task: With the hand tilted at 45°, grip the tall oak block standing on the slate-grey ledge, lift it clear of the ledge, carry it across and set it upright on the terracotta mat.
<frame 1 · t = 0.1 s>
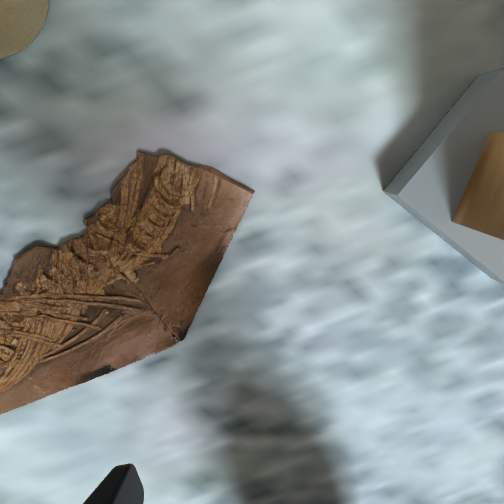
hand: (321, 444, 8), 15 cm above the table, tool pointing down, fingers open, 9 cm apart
wooden fragment: (101, 302, 23), on the table
slate ledge: (485, 185, 21), on the table
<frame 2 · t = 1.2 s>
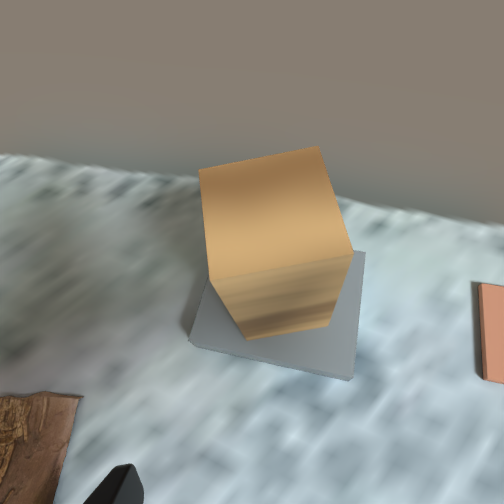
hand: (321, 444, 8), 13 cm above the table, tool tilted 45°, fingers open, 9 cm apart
oak block: (279, 295, 21), point 2 cm above the table, touching slate ledge
slate ledge: (280, 304, 23), on the table
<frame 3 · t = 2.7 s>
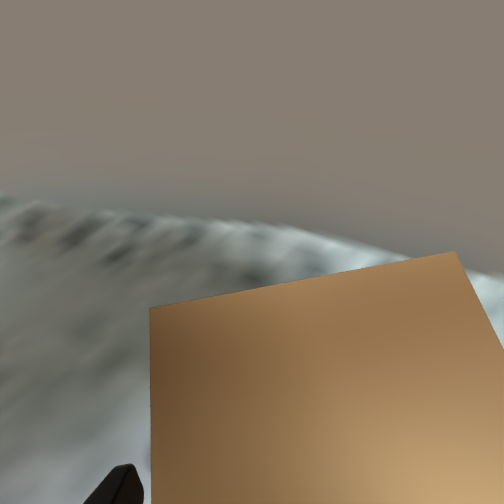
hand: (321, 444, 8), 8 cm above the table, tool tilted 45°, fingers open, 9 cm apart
oak block: (310, 434, 13), point 2 cm above the table, touching slate ledge
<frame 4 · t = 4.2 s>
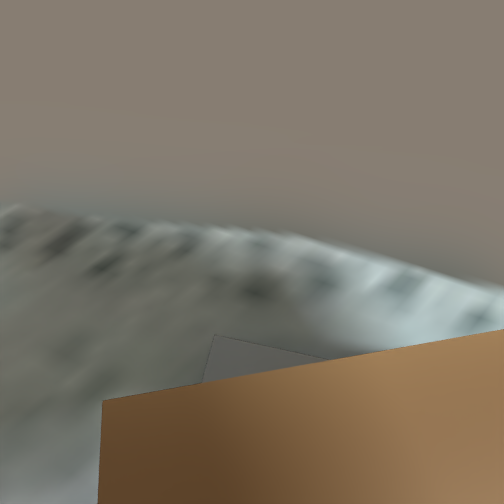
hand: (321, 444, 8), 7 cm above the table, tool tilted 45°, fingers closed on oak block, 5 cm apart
oak block: (322, 481, 11), point 2 cm above the table, touching gripper, slate ledge
slate ledge: (318, 473, 13), on the table
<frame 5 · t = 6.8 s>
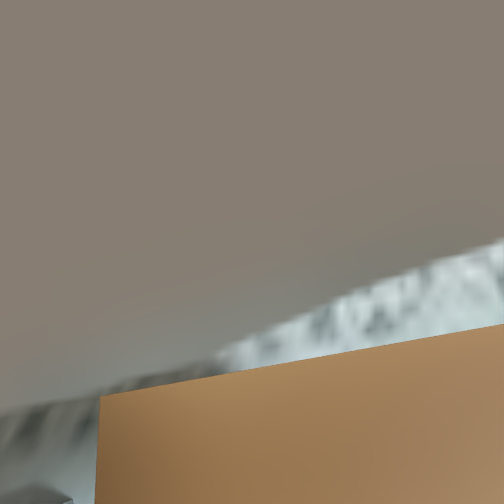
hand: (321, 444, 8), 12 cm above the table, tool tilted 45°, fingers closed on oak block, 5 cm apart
oak block: (320, 480, 11), point 7 cm above the table, touching gripper
when the fingers open (6 cm above the table, at t = 9.2 s): oak block drops 1 cm, resting on terracotta mat.
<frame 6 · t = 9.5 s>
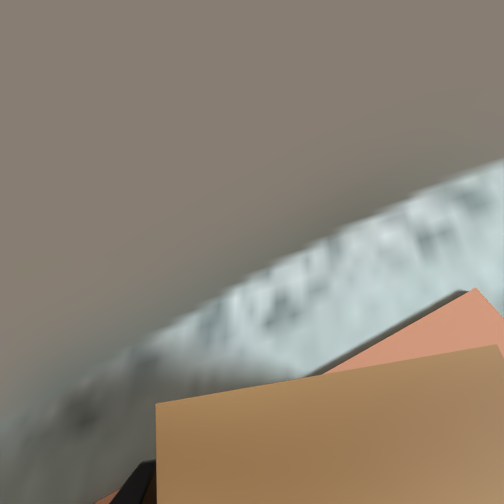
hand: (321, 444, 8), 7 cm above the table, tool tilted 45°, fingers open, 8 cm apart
oak block: (319, 474, 13), resting on terracotta mat
terracotta mat: (318, 473, 13), on the table
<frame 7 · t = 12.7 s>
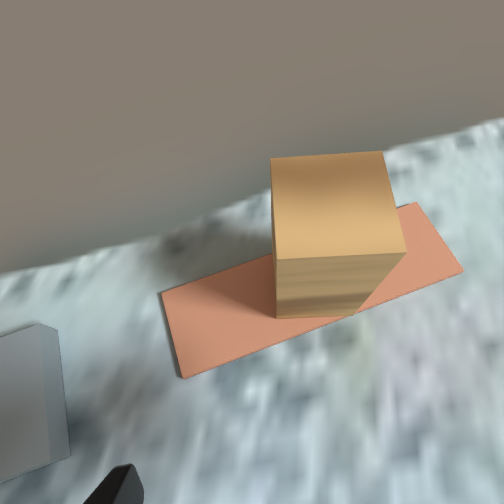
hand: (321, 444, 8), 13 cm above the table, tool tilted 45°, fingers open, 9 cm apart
oak block: (310, 281, 23), resting on terracotta mat
terracotta mat: (309, 284, 23), on the table
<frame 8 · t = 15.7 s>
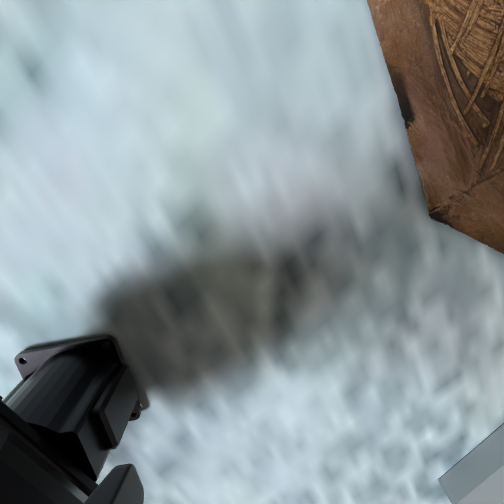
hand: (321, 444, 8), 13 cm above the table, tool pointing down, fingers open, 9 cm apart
wooden fragment: (483, 114, 18), on the table
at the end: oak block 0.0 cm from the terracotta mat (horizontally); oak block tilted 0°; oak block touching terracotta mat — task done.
